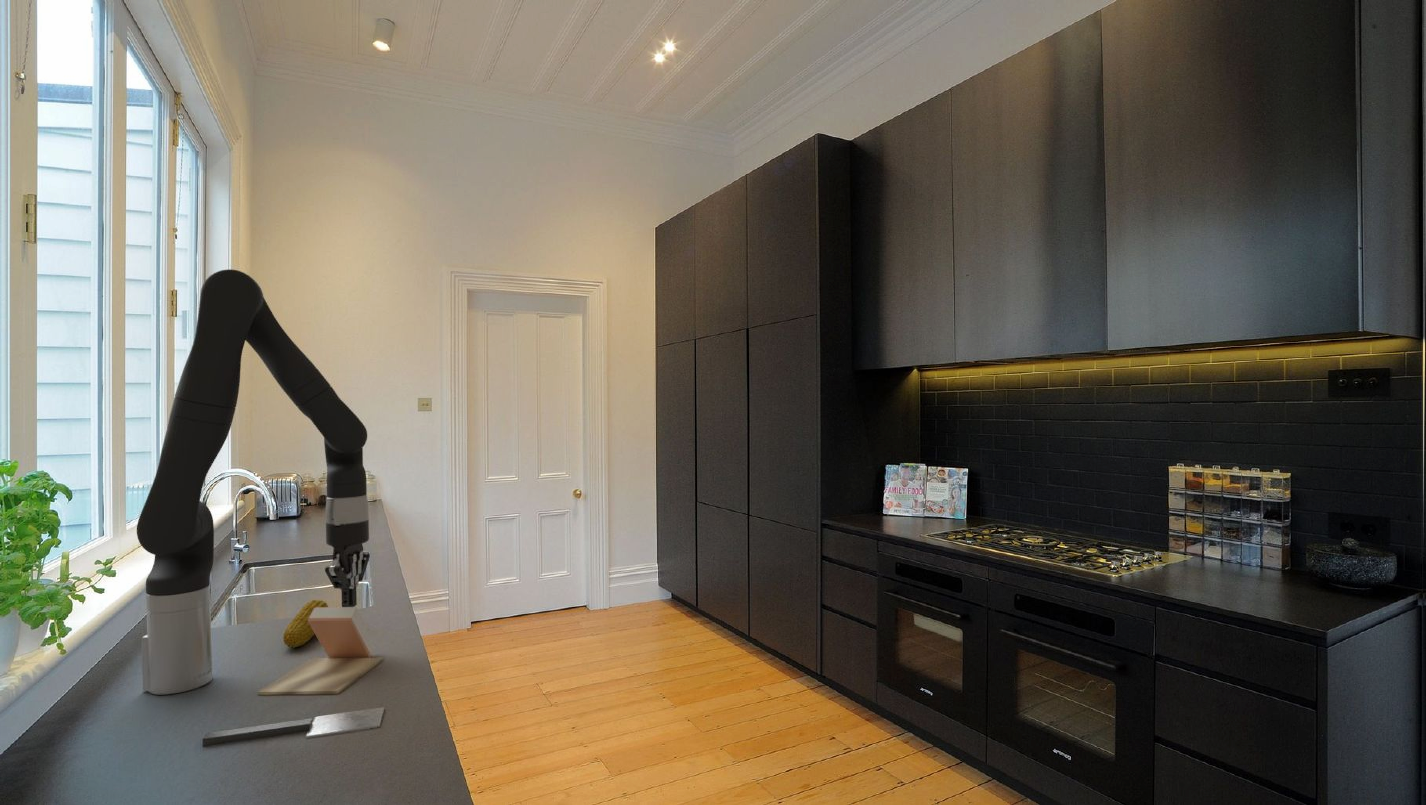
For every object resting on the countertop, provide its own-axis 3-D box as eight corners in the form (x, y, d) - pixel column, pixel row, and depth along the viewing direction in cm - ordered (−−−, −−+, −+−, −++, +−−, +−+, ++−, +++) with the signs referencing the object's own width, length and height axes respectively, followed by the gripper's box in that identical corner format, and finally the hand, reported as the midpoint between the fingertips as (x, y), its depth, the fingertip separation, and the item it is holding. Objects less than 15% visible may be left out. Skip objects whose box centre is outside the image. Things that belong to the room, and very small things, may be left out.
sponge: (329, 658, 143) (307, 620, 135) (336, 645, 145) (314, 607, 138) (370, 658, 142) (349, 620, 135) (376, 645, 145) (356, 606, 138)
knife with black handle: (196, 754, 105) (196, 746, 105) (213, 733, 111) (212, 725, 111) (379, 727, 112) (379, 719, 112) (384, 709, 119) (384, 701, 119)
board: (257, 694, 126) (257, 691, 126) (311, 660, 142) (311, 658, 142) (337, 693, 125) (337, 690, 125) (382, 659, 141) (382, 657, 141)
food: (304, 624, 166) (303, 597, 166) (331, 621, 168) (331, 595, 168) (278, 654, 146) (277, 625, 146) (309, 651, 147) (308, 622, 147)
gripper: (346, 513, 149) (347, 598, 150) (309, 525, 136) (311, 617, 136) (382, 513, 149) (384, 597, 150) (348, 524, 136) (350, 617, 136)
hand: (349, 607), depth 143 cm, fingers closed
